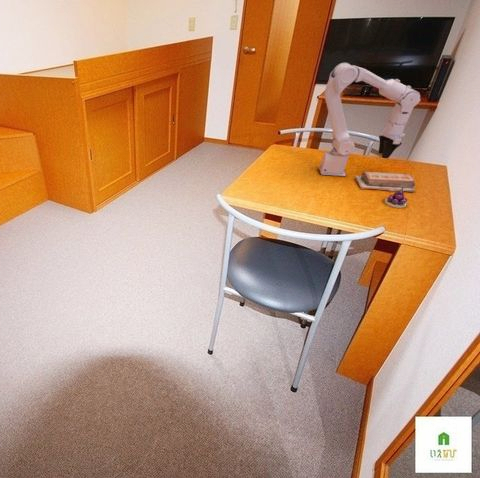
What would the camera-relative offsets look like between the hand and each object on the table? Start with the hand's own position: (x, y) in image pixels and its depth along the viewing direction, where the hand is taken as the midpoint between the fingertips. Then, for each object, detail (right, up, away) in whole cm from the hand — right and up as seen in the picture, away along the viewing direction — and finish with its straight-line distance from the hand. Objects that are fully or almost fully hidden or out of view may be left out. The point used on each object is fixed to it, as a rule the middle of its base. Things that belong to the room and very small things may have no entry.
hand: (383, 155), depth 134 cm
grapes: (-9, -22, -16) cm, 28 cm away
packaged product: (-3, -13, -4) cm, 14 cm away
